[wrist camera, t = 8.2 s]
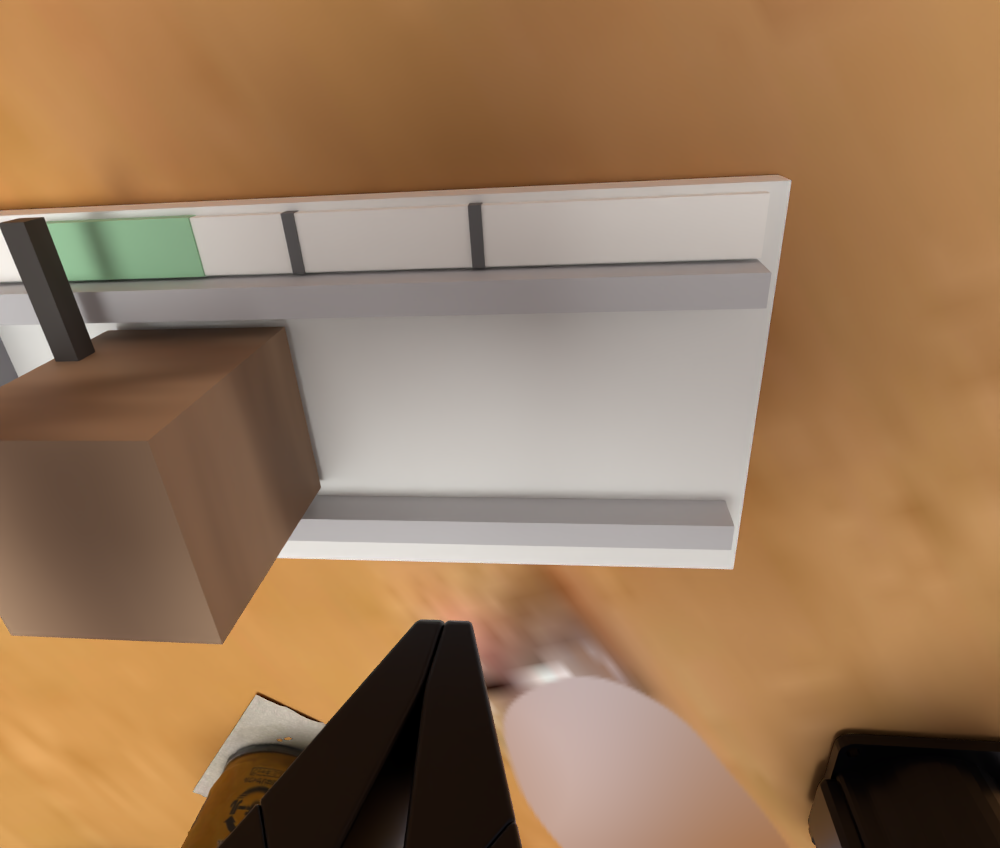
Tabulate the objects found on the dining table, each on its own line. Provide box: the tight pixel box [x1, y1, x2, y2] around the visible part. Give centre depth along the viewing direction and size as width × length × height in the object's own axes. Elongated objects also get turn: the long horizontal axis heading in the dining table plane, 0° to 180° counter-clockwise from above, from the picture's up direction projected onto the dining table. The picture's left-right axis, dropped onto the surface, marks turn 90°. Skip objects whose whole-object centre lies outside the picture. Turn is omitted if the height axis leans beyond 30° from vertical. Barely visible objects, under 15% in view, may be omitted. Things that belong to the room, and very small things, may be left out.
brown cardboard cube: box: [0, 217, 321, 644], centre depth 14 cm, size 5×8×6 cm, turn 3°
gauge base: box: [0, 175, 792, 569], centre depth 16 cm, size 23×11×6 cm, turn 93°
